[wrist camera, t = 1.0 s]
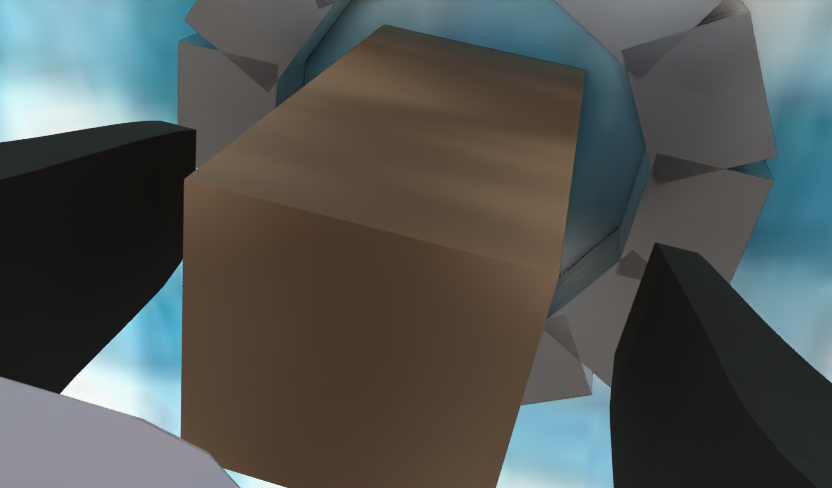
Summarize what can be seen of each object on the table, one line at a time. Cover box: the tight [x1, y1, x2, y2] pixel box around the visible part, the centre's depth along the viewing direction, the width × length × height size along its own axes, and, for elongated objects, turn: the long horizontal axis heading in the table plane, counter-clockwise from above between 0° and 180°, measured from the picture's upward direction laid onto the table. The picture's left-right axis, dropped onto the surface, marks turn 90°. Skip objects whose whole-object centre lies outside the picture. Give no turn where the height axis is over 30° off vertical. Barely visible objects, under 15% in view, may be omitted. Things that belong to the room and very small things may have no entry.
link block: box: [181, 25, 586, 488], centre depth 12 cm, size 4×4×8 cm
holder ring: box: [178, 0, 777, 405], centre depth 15 cm, size 11×11×2 cm
